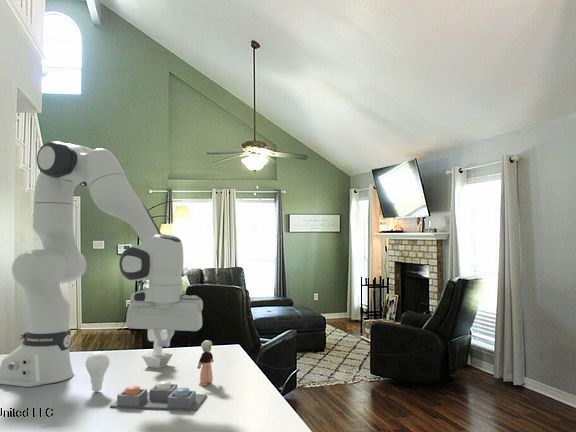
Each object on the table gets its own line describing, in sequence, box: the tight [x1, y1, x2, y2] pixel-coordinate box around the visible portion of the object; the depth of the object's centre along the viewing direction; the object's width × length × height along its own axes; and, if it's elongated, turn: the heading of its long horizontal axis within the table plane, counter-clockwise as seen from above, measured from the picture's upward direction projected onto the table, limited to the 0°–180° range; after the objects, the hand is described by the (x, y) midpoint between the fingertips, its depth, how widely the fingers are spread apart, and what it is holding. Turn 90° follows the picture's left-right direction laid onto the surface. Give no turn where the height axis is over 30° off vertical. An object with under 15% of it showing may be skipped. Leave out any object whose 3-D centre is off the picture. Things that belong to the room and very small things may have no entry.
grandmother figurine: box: [197, 339, 214, 387], centre depth 138 cm, size 8×4×13 cm, turn 168°
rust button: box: [124, 385, 141, 395], centre depth 120 cm, size 4×4×3 cm
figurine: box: [141, 329, 174, 369], centre depth 157 cm, size 7×9×15 cm
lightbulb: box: [85, 351, 110, 393], centre depth 130 cm, size 6×6×11 cm
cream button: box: [156, 380, 172, 390], centre depth 125 cm, size 4×4×3 cm
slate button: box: [175, 386, 190, 397], centre depth 119 cm, size 4×4×3 cm
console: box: [109, 383, 208, 412], centre depth 122 cm, size 22×11×3 cm, turn 86°
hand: (163, 346), depth 126 cm, fingers closed
